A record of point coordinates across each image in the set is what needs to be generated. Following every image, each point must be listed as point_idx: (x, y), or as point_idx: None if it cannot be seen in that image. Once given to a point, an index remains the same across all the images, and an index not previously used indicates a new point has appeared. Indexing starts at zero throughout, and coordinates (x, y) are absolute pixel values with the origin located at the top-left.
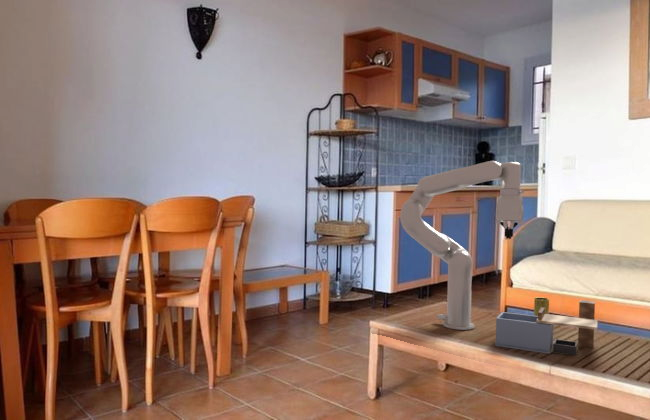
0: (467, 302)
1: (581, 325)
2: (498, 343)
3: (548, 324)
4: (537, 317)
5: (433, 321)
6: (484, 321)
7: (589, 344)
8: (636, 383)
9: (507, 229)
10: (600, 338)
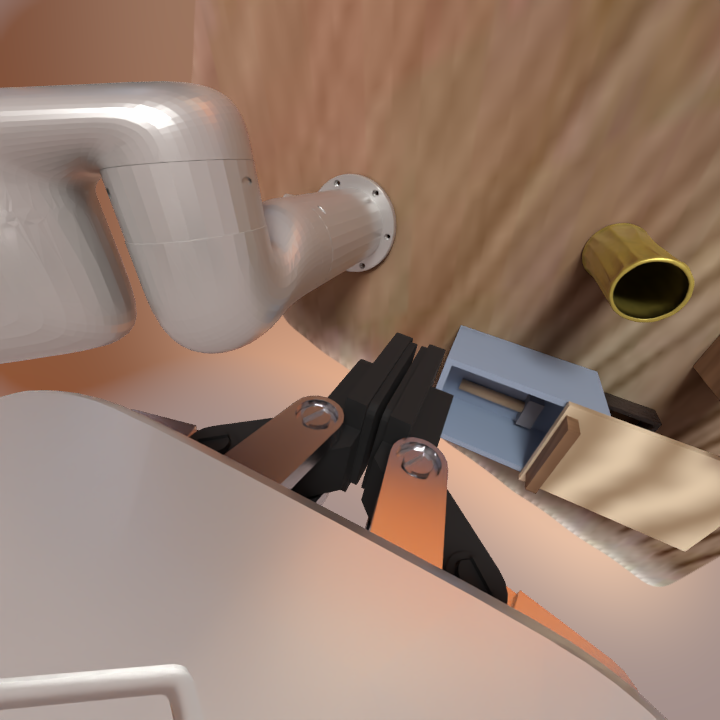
0: (342, 271)
1: (641, 531)
2: None
3: None
4: (554, 402)
5: (285, 181)
6: (437, 98)
7: None
8: (658, 577)
9: (347, 483)
10: None
